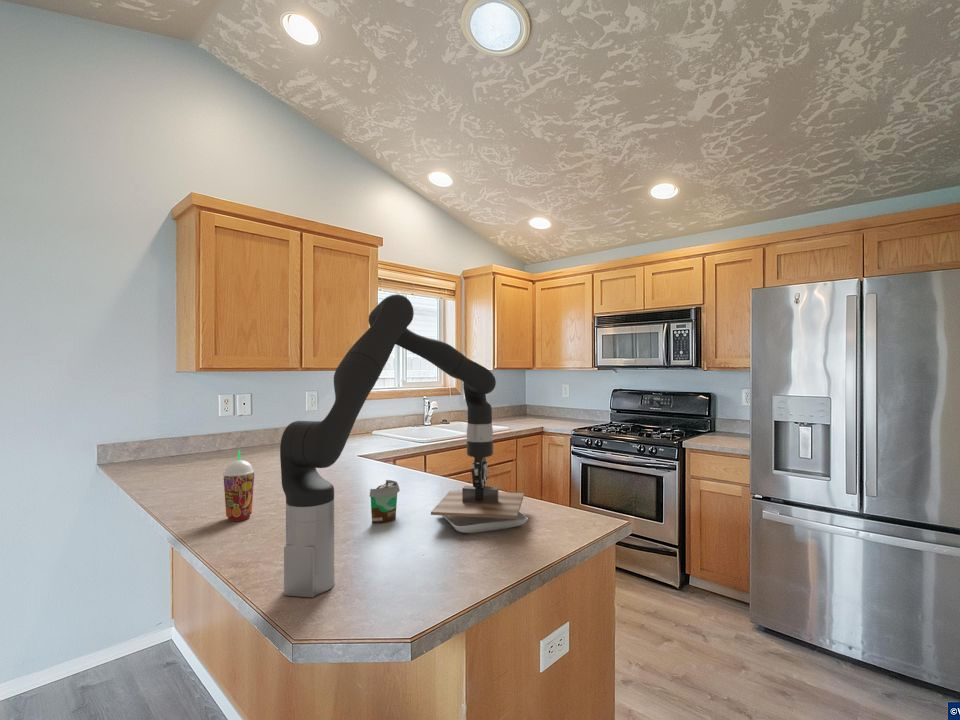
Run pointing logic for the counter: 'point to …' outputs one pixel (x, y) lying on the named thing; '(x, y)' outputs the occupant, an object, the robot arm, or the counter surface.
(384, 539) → the counter surface
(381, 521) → the food container
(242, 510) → the smoothie
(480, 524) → the salad plate
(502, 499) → the cover board
